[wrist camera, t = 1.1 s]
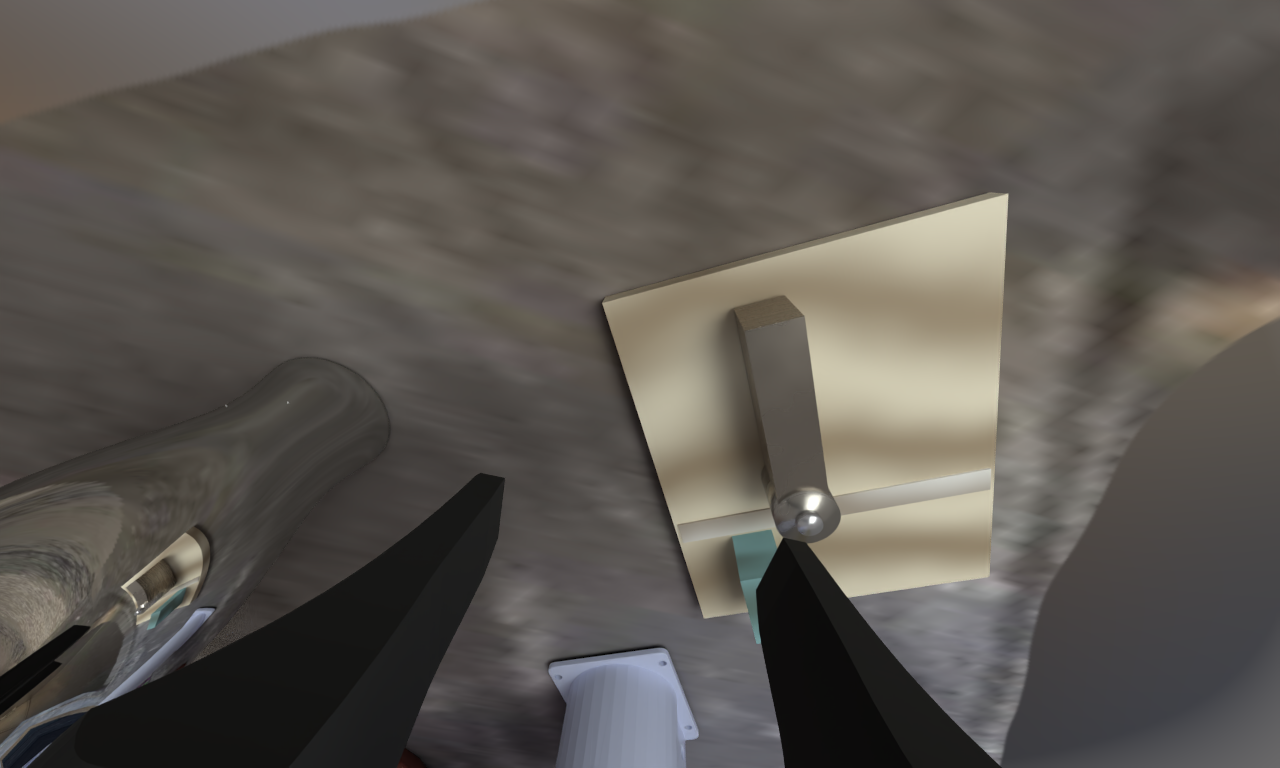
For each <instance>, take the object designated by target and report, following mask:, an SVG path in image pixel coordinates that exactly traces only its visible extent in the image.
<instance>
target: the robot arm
mask: <svg viewBox="0 0 1280 768" xmlns="http://www.w3.org/2000/svg"><path fill="white" fill-rule="evenodd" d="M504 482H505V478H502V477H497V476H492V475H488V474H483V473H480V474H478V475H476V476H475V477H474V478H473V479H472V480H471V481H470V482H469V483H467V484H466V485H465V486H464V487H463V488H462V489H461V490H460V491H459V492H458V493H457V494H456V495H454V496H453V497H452V498H451V499H450V500H449V501H448V502H446V503H445V504H444V505H443V506H442V507H441V508H440V509H438V510H437V511H436V512H435V513H434V514H432V515H431V516H430V517H429V518H428V519H426V520H425V521H424V522H423V523H421V524H420V525H419V526H418V527H417V528H415V529H414V530H413V531H412V532H410V533H409V534H408V535H406V536H405V537H404V538H402V539H401V540H400V541H398V542H397V543H396V544H394V545H393V546H392V547H390V548H389V549H388V550H386V551H385V552H384V553H382V554H381V555H380V556H378V557H377V558H375V559H374V560H373V561H371V562H370V563H368V564H367V565H365V566H364V567H362V568H361V569H359V570H358V571H356V572H355V573H353V574H352V575H350V576H349V577H347V578H346V579H344V580H343V581H341V582H340V583H338V584H336V585H335V586H333V587H332V588H330V589H329V590H327V591H325V592H324V593H322V594H320V595H319V596H317V597H315V598H314V599H312V600H310V601H308V602H307V603H305V604H303V605H302V606H300V607H298V608H297V609H295V610H293V611H292V612H290V613H288V614H286V615H284V616H283V617H281V618H279V619H277V620H276V621H274V622H272V623H270V624H268V625H266V626H265V627H263V628H261V629H259V630H257V631H255V632H253V633H251V634H249V635H247V636H245V637H243V638H241V639H239V640H237V641H235V642H233V643H231V644H229V645H228V646H226V647H224V648H222V649H220V650H218V651H216V652H214V653H212V654H210V655H208V656H206V657H204V658H202V659H200V660H198V661H196V662H194V663H192V664H190V665H187V666H185V667H183V668H181V669H179V670H177V671H174V672H172V673H170V674H168V675H165V676H163V677H161V678H159V679H157V680H154V681H152V682H150V683H148V684H145V685H143V686H141V687H139V688H137V689H134V690H132V691H130V692H128V693H125V694H123V695H121V696H119V697H117V698H114V699H112V700H110V701H107V702H105V703H103V704H100V705H98V706H96V707H93V708H91V709H90V710H89V711H87V712H86V713H85V714H84V715H83V716H82V717H81V718H80V719H78V720H77V721H76V722H75V723H74V724H73V725H71V726H70V727H69V728H68V729H67V730H66V731H64V732H63V733H62V734H61V735H60V736H59V737H57V738H56V739H55V740H54V741H53V742H52V743H51V744H50V745H49V746H48V747H47V748H46V749H45V750H44V751H43V752H42V753H41V754H40V755H39V756H38V757H37V758H36V759H35V760H34V761H32V762H31V763H30V764H29V765H28V766H27V767H26V768H397V766H398V764H399V761H400V759H401V756H402V753H403V751H404V748H405V746H406V743H407V741H408V738H409V736H410V733H411V731H412V728H413V726H414V723H415V721H416V718H417V716H418V713H419V711H420V708H421V706H422V703H423V701H424V698H425V696H426V693H427V691H428V688H429V686H430V684H431V682H432V679H433V677H434V675H435V673H436V671H437V669H438V666H439V664H440V662H441V660H442V658H443V656H444V654H445V652H446V650H447V648H448V646H449V644H450V642H451V640H452V638H453V636H454V635H455V633H456V631H457V629H458V627H459V625H460V623H461V621H462V619H463V617H464V615H465V613H466V611H467V609H468V607H469V605H470V603H471V601H472V599H473V597H474V595H475V593H476V591H477V589H478V586H479V584H480V582H481V580H482V578H483V576H484V574H485V571H486V568H487V566H488V563H489V561H490V558H491V555H492V552H493V550H494V547H495V544H496V541H497V539H498V534H499V525H500V516H501V508H502V499H503V490H504ZM756 601H757V615H758V625H759V634H760V639H761V644H762V649H763V654H764V659H765V664H766V669H767V674H768V678H769V683H770V688H771V693H772V698H773V702H774V707H775V712H776V717H777V722H778V726H779V731H780V737H781V743H782V749H783V755H784V764H785V768H1002V767H1000V766H999V765H998V764H997V763H996V762H995V761H994V760H993V759H992V758H991V757H990V756H989V755H988V754H987V753H986V752H985V751H984V750H983V749H982V748H981V747H980V746H979V745H978V744H976V743H975V742H974V741H973V740H972V739H971V738H970V737H969V736H968V735H967V734H966V733H965V732H964V731H963V730H962V729H961V728H960V727H959V726H958V725H957V724H956V723H955V722H954V721H953V720H952V719H951V718H950V717H949V716H948V715H947V714H946V713H945V712H944V711H943V710H942V709H941V707H940V706H939V705H938V704H937V703H936V702H935V701H934V700H933V699H932V698H931V697H930V696H929V695H928V694H927V692H926V691H925V690H924V689H923V688H922V687H921V686H920V685H919V684H918V683H917V682H916V681H915V680H914V678H913V677H912V676H911V675H910V674H909V673H908V672H907V671H906V669H905V668H904V667H903V666H902V665H901V664H900V662H899V661H898V660H897V659H896V658H895V656H894V655H893V654H892V653H891V652H890V650H889V649H888V648H887V647H886V646H885V645H884V643H883V642H882V641H881V640H880V638H879V637H878V636H877V635H876V634H875V632H874V631H873V630H872V629H871V627H870V626H869V625H868V624H867V622H866V621H865V620H864V618H863V617H862V616H861V615H860V613H859V612H858V611H857V609H856V608H855V607H854V605H853V604H852V603H851V602H850V600H849V599H848V598H847V596H846V595H845V594H844V592H843V591H842V590H841V588H840V587H839V586H838V584H837V583H836V582H835V580H834V579H833V578H832V576H831V575H830V573H829V572H828V571H827V569H826V568H825V567H824V565H823V564H822V563H821V561H820V560H819V559H818V557H817V556H816V555H815V553H814V552H813V551H812V550H811V548H810V547H809V546H808V544H807V543H806V542H802V541H797V540H792V539H788V538H783V539H782V541H781V542H780V544H779V546H778V548H777V550H776V552H775V554H774V556H773V558H772V560H771V562H770V564H769V566H768V568H767V569H766V571H765V573H764V575H763V577H762V579H761V581H760V583H759V585H758V587H757V589H756ZM548 672H549V674H550V676H551V678H552V679H553V681H554V683H555V685H556V687H557V688H558V690H559V692H560V694H561V695H562V697H563V699H564V701H565V702H566V704H567V706H566V712H565V717H564V723H563V728H562V734H561V739H560V744H559V750H558V755H557V761H556V766H555V768H686V753H685V740H692V739H696V738H697V737H698V736H699V733H698V727H697V725H696V722H695V720H694V717H693V715H692V712H691V709H690V707H689V704H688V702H687V699H686V697H685V694H684V691H683V689H682V686H681V684H680V681H679V678H678V676H677V673H676V671H675V668H674V666H673V663H672V660H671V658H670V655H669V653H668V651H667V650H666V649H664V648H653V649H646V650H638V651H631V652H624V653H617V654H609V655H602V656H595V657H588V658H580V659H573V660H566V661H558V662H553V663H551V664H550V665H549V669H548Z"/></svg>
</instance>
